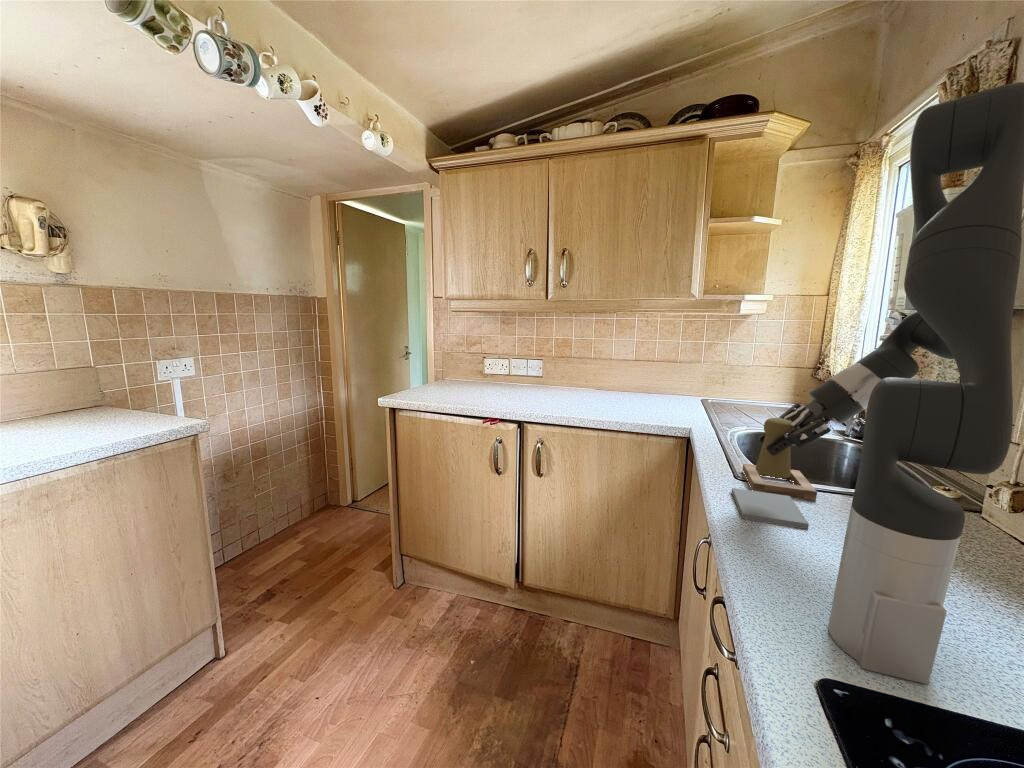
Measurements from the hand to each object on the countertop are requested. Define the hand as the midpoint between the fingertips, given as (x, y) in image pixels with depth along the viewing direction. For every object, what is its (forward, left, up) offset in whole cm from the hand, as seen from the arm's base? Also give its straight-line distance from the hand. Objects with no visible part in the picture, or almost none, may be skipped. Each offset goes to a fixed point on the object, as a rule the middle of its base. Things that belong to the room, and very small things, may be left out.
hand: (765, 446), depth 82 cm
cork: (0, -2, -5) cm, 6 cm away
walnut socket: (+14, -7, -13) cm, 20 cm away
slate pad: (0, -2, -13) cm, 13 cm away
